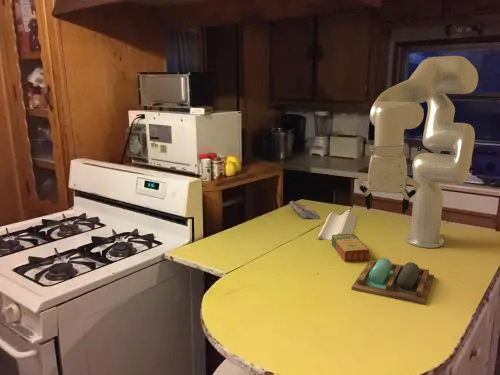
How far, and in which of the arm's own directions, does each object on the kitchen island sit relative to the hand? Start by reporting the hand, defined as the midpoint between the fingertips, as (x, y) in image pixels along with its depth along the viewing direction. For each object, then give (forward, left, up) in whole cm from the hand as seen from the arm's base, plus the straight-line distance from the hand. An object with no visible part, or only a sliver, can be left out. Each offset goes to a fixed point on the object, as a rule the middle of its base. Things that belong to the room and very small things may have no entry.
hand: (386, 210), depth 123 cm
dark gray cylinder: (+4, +7, -19) cm, 21 cm away
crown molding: (-37, -25, -21) cm, 50 cm away
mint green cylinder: (+4, 0, -19) cm, 20 cm away
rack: (+4, +4, -20) cm, 21 cm away
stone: (-48, -44, -21) cm, 68 cm away
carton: (-14, -14, -21) cm, 29 cm away
